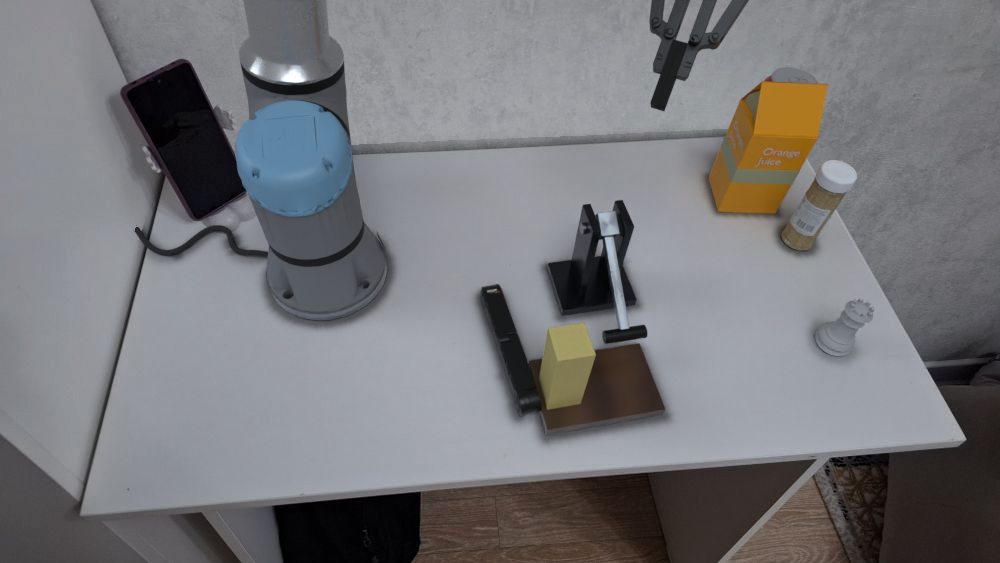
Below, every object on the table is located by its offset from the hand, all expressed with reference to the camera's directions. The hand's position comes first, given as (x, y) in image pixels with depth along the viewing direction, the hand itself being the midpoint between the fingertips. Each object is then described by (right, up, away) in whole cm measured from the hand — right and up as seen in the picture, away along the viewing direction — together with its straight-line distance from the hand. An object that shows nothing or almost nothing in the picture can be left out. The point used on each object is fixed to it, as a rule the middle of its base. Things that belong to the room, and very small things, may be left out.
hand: (657, 106), depth 65 cm
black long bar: (-15, -27, +12) cm, 33 cm away
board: (-5, -31, +9) cm, 33 cm away
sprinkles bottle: (+26, -12, +25) cm, 38 cm away
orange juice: (+20, -5, +30) cm, 37 cm away
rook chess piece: (+26, -26, +14) cm, 39 cm away
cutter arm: (-3, -18, +9) cm, 20 cm away
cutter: (-4, -19, +18) cm, 27 cm away
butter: (-10, -31, +7) cm, 33 cm away
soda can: (+25, +1, +35) cm, 43 cm away
